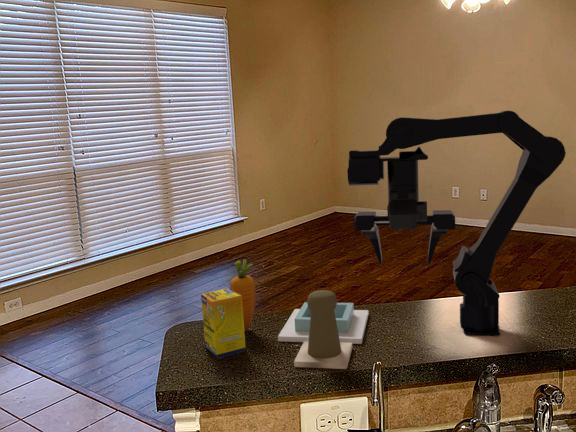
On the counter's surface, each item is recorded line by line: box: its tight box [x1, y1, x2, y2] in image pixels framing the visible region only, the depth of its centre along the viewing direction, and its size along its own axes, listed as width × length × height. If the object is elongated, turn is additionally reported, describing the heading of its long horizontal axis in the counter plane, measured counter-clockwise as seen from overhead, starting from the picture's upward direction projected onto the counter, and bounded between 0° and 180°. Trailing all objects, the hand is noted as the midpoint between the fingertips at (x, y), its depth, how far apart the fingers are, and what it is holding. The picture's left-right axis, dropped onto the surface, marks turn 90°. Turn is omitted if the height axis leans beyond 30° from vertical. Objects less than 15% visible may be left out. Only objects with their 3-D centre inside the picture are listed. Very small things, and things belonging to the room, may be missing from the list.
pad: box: [293, 341, 353, 370], centre depth 101 cm, size 9×9×1 cm
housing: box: [277, 301, 370, 345], centre depth 116 cm, size 16×16×4 cm
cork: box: [306, 289, 341, 359], centre depth 101 cm, size 6×6×11 cm
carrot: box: [229, 259, 256, 332], centre depth 115 cm, size 5×5×15 cm
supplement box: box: [200, 287, 247, 359], centre depth 106 cm, size 6×6×11 cm
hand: (404, 263), depth 111 cm, fingers open, 9 cm apart
